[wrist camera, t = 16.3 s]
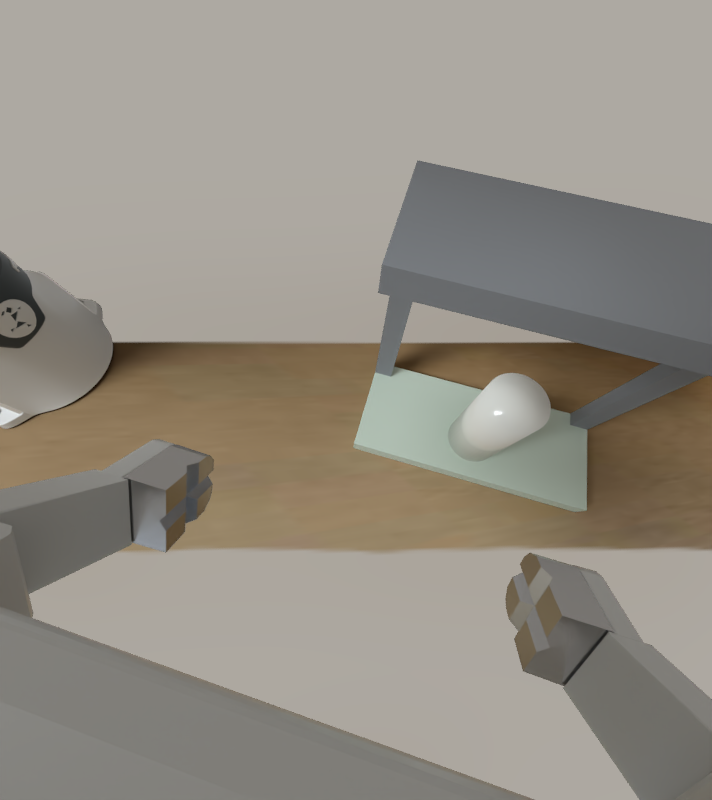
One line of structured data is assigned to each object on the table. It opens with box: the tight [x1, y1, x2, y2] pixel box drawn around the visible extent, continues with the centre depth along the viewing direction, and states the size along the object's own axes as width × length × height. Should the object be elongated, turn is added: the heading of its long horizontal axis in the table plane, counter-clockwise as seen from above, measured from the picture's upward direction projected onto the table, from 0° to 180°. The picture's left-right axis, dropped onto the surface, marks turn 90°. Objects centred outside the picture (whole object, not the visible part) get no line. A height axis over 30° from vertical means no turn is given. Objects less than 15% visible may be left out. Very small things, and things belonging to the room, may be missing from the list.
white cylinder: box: [448, 373, 551, 462], centre depth 33 cm, size 6×6×11 cm
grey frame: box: [354, 161, 712, 512], centre depth 28 cm, size 26×11×26 cm, turn 74°
